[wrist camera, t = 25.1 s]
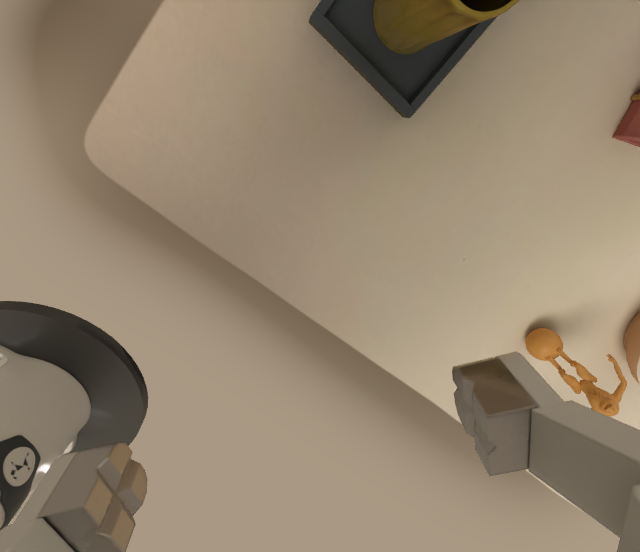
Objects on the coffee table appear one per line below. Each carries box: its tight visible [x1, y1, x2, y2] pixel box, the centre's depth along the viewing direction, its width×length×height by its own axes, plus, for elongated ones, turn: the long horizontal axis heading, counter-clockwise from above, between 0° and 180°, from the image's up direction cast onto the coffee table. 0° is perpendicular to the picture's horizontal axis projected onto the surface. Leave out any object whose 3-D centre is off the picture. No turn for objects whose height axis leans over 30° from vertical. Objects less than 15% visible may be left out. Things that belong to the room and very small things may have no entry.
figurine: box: [526, 328, 627, 416], centre depth 43 cm, size 8×6×12 cm
